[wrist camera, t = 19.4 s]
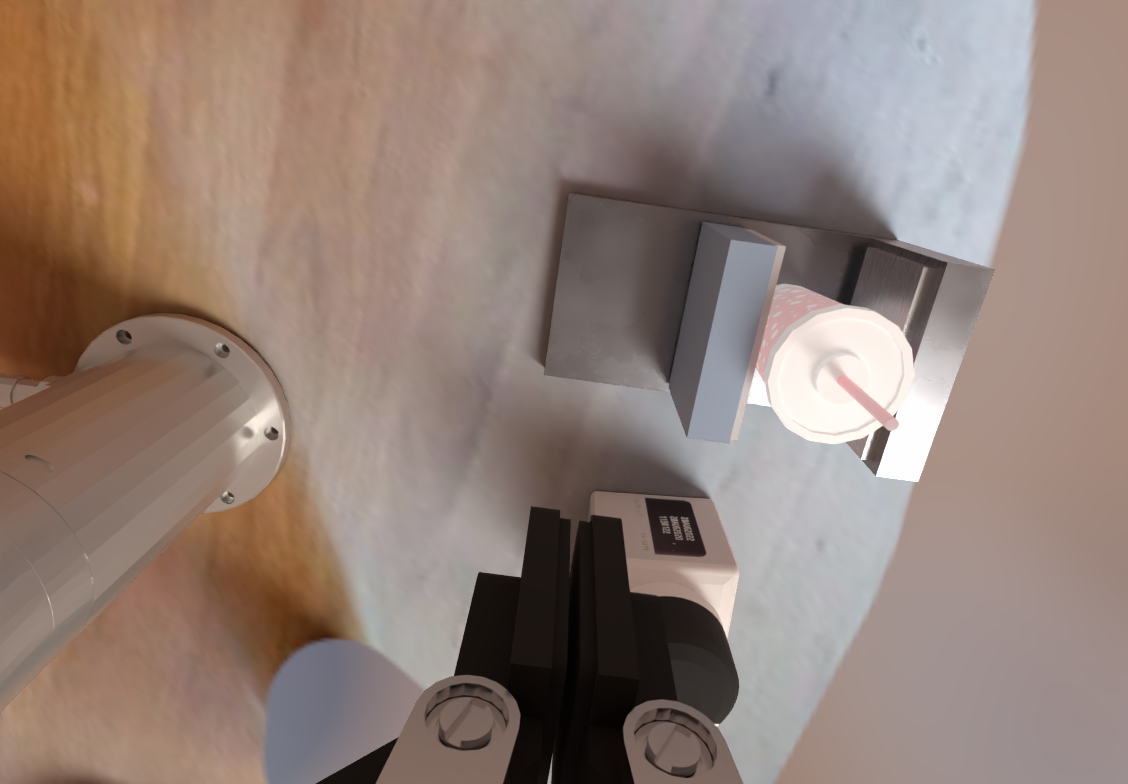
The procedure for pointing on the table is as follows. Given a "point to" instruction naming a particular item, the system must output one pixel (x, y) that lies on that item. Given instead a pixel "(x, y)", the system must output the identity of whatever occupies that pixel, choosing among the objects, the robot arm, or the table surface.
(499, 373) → the table surface
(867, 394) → the beverage cup
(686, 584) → the container
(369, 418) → the table surface
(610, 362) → the vise base
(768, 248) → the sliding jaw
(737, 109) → the table surface
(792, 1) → the table surface
